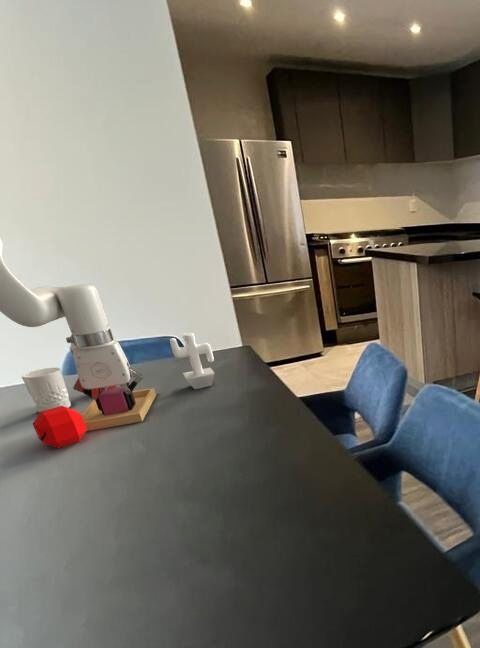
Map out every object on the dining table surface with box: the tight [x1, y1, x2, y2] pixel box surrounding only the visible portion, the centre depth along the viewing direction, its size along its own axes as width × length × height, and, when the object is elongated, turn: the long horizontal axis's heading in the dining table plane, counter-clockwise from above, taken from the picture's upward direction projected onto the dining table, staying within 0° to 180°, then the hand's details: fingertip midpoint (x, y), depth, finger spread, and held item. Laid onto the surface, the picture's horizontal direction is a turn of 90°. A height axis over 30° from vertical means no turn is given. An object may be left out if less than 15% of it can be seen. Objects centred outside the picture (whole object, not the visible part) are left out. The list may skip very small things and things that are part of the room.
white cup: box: [21, 367, 72, 413], centre depth 126 cm, size 8×8×10 cm
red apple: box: [32, 406, 88, 449], centre depth 106 cm, size 8×8×8 cm
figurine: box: [169, 331, 215, 390], centre depth 136 cm, size 7×9×15 cm
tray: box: [80, 387, 157, 432], centre depth 122 cm, size 14×20×2 cm
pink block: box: [98, 387, 129, 416], centre depth 121 cm, size 5×5×5 cm
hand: (118, 409), depth 122 cm, fingers closed on pink block, 5 cm apart
